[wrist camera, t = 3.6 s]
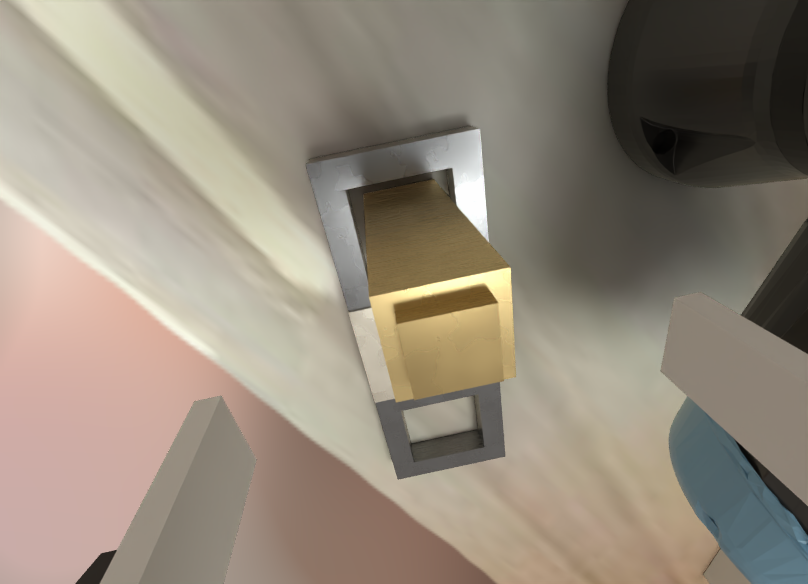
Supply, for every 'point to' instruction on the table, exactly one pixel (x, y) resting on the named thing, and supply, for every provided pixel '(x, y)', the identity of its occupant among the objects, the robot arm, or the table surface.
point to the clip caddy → (724, 571)
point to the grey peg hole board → (331, 193)
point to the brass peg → (436, 294)
